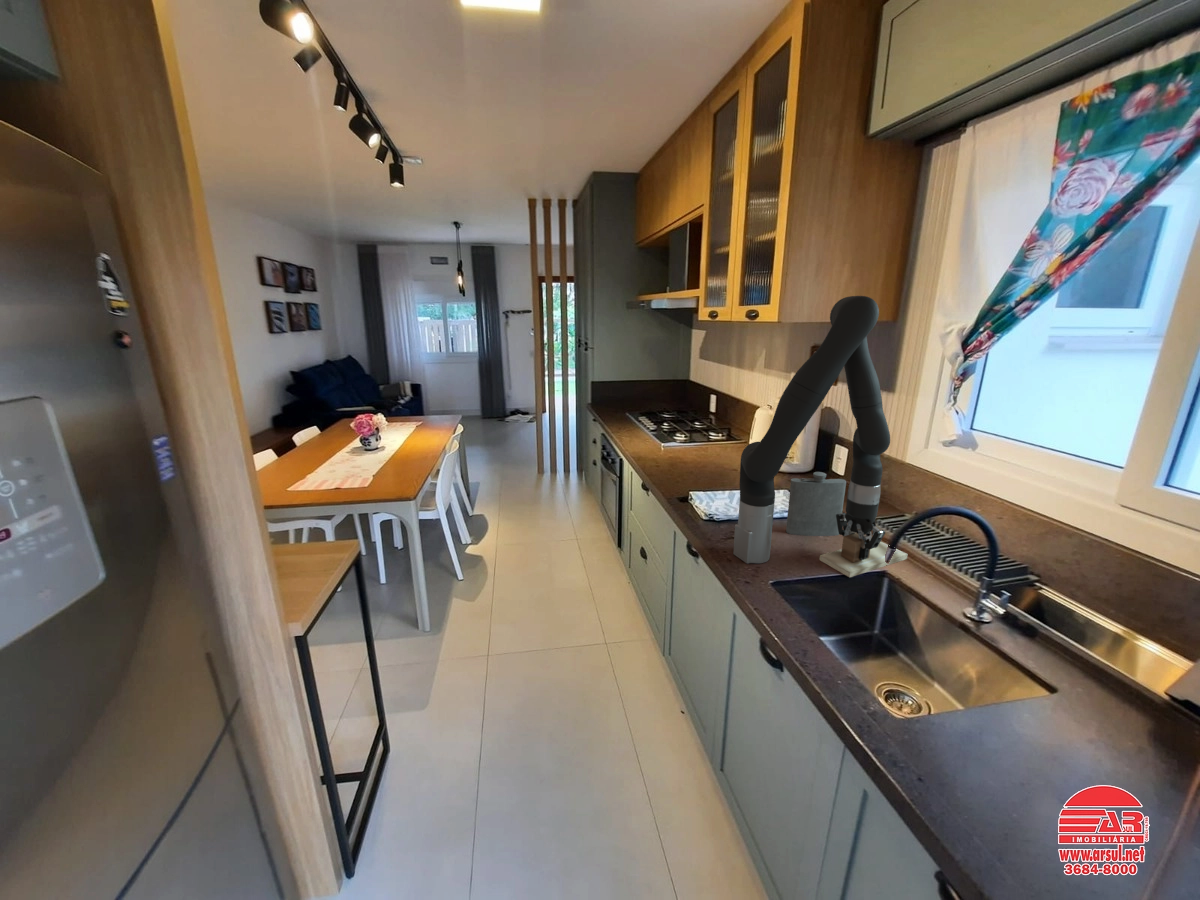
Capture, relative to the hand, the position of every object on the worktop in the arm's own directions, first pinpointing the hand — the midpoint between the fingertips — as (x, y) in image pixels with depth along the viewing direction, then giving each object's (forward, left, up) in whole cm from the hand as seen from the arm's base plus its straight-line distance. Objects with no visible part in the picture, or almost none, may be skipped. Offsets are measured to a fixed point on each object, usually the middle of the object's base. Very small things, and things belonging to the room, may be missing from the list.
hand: (855, 555), depth 134 cm
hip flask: (+3, +18, -3) cm, 18 cm away
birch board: (+3, 0, -2) cm, 4 cm away
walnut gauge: (0, 0, -1) cm, 1 cm away
